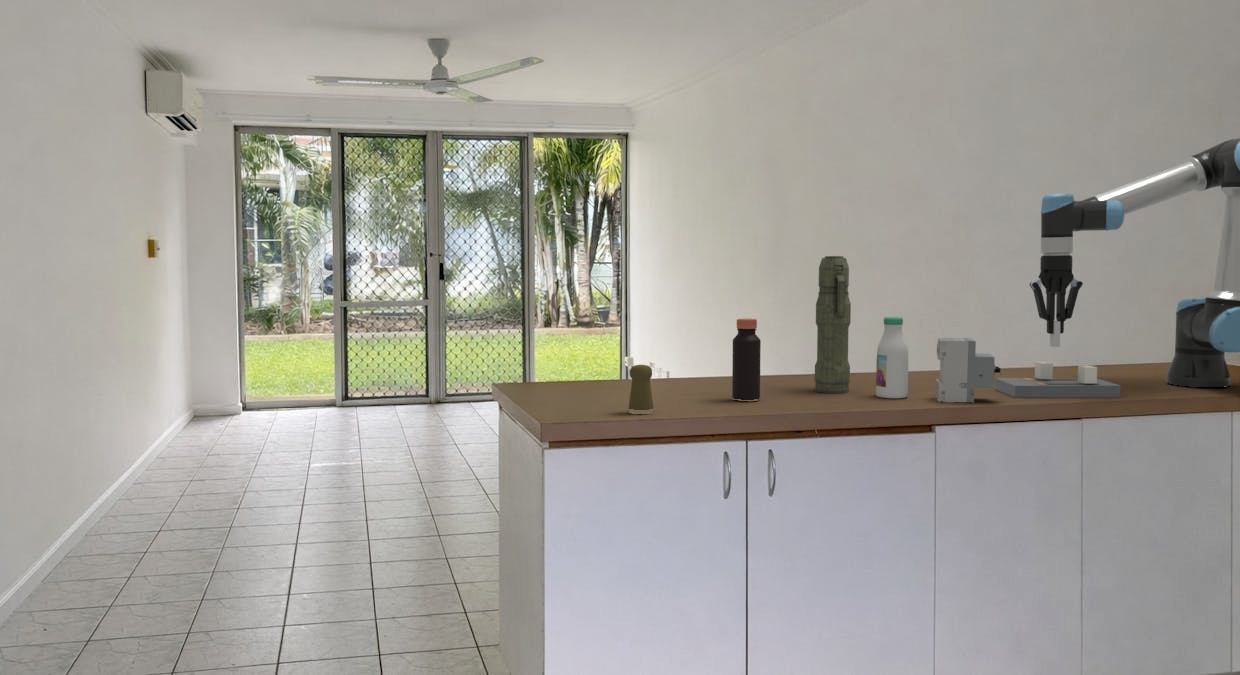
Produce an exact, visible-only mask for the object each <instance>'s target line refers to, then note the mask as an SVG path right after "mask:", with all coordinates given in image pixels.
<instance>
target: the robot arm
mask: <svg viewBox="0 0 1240 675" xmlns="http://www.w3.org/2000/svg"><path fill="white" fill-rule="evenodd" d="M1216 187H1217V188H1218V187H1220V191H1221V192H1223V194H1224V195H1225V196H1226V198H1225V199H1226V200H1225V206H1224V212H1223V219H1222V220H1223V221H1222V229H1221V234H1220V236H1221V237H1220V240H1219V241H1220V243H1219V248H1218V249H1219V250H1218V256H1217V263H1216V264H1217V265H1216V270H1215V278H1214V285H1213V290H1212V291H1210V293H1208V294H1207V295H1206V296H1205V298H1202V297H1201V298H1187V299H1182V300H1180V301H1179V302H1178V303H1177V306H1176V311H1175V315H1176V317H1175V320H1176V321H1175V345H1174V357H1173V358H1172V361H1171V364H1170V366H1169V368H1168V371H1167V373H1166V376H1165V377H1166V382H1167V383H1166V384H1168V383H1169V384H1168V385H1171V384H1173V386H1177V385H1179V386H1178V387H1185V386H1189V387H1188V388H1196V387H1224V386H1229V385H1231V384H1232V379H1231V377H1232V376H1231V374H1230V370H1229V368H1228V365H1227V361H1226V358H1225V353H1230V354H1231V353H1240V137H1239V138H1235V139H1234V138H1233V139H1228V140H1225V141H1222V142H1220V143H1217V144H1215V145H1214V146H1211V147H1209V148H1207V149H1205V150H1203V151H1201V152H1199V153H1196V154H1194V155H1190V156H1188V157H1186V159H1185V160H1184V162H1182V163H1180V164H1177V165H1175V166H1172V167H1169V168H1167V169H1165V170H1161V171H1158V172H1155V173H1152V174H1151V175H1147V176H1145V177H1142V178H1140V179H1137V180H1134V181H1131V182H1129V183H1126V184H1123V185H1120V186H1118V187H1114V188H1112V189H1109V190H1106V191H1103V192H1102V193H1099V194H1096V195H1093V196H1092V197H1087V198H1085V199H1083V200H1079V201H1078V200H1075V197H1074V194H1073V193H1048V194H1045V195H1044V196H1043V197H1042V200H1041V207H1040V208H1041V209H1040V217H1041V218H1040V221H1041V222H1040V226H1041V227H1040V234H1041V235H1040V236H1041V237H1040V253H1041V254H1042V255H1041V256H1040V273H1039V274H1038V278H1037V279H1035V280H1034V281H1031V282H1030V283H1029V287H1030V288H1031V289H1032V292H1033V294H1034V299H1035V303H1036V308H1037V313H1038V316H1039V318H1040V319H1042V320H1044V321H1046V333H1047V334H1049V346H1050V347H1052V348H1053V347H1054V348H1060V347H1061V334H1064V332H1065V327H1064V326H1065V321H1067V320H1069V319H1071V318H1073V313H1074V311H1075V310H1074V309H1075V306H1076V302H1077V299H1078V294H1079V290H1080V289H1081V288H1082V286H1083V285H1084V284H1083V283H1084V282H1082V281H1080V280H1078V279H1076V278H1075V276H1074V273H1073V256H1072V255H1071V254H1072V253H1073V246H1074V244H1073V243H1074V240H1073V238H1074V232H1080V231H1084V232H1085V231H1093V232H1094V231H1106V232H1108V231H1114V230H1119V229H1120V228H1121V227H1122V226H1123V223H1124V220H1125V215H1128V214H1131V213H1133V212H1136V211H1139V210H1142V209H1145V208H1147V207H1150V206H1152V205H1155V204H1159V203H1161V202H1164V201H1167V200H1169V199H1173V198H1175V197H1178V196H1181V195H1184V194H1186V193H1189V192H1192V191H1194V190H1195V191H1197V192H1204V191H1206V190H1209V189H1213V188H1216ZM1042 286H1043V287H1044V289H1045V294H1046V301H1045V299H1044V296H1043V291H1042V289H1041V288H1042ZM1069 286H1070V289H1069V291H1068V294H1067V289H1068V287H1069ZM1066 294H1067V295H1068V296H1067V299H1066ZM1045 302H1046V304H1045ZM1055 312H1056V313H1055ZM1055 315H1056V316H1055ZM1055 318H1056V320H1055ZM1231 386H1232V385H1231Z"/></svg>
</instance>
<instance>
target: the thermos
mask: <svg viewBox="0 0 1240 675" xmlns="http://www.w3.org/2000/svg"><path fill="white" fill-rule="evenodd" d="M818 266H819V267H818V287H819V288H818V290H819V291H818V296H817V300H816V303H815V325H816V327H817V330H816V331H817V332H816V333H817V335H816V336H817V339H816V340H817V342H816V344H817V345H816V348H817V349H816V350H817V351H816V362H815V365H814V382H815V388H814V390H816V391H815V392H817V391H818V392H817V393H821V392H823V393H822V394H847V393H849V392H850V387H849V386H850V381H851V379H850V378H851V366H850V363H849V328H850V325H851V320H852V319H851V311H852V308H851V306H852V305H851V304H852V303H851V301H850V295H849V287H850V286H849V284H850V281H849V280H850V279H849V278H850V267H849V263H848V259H847V258H846V257H844V256H843V255H841V256H840V255H836V256H835V255H834V256H833V255H832V256H831V255H830V256H828V255H826V256H824V257H822V258H821V260H820V263H819V265H818Z"/></svg>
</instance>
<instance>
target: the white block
mask: <svg viewBox="0 0 1240 675" xmlns="http://www.w3.org/2000/svg"><path fill="white" fill-rule="evenodd" d="M1077 378H1078V382H1081V383H1097V379H1098V367H1097V366H1094V365H1078V366H1077Z"/></svg>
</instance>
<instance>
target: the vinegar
mask: <svg viewBox="0 0 1240 675" xmlns="http://www.w3.org/2000/svg"><path fill="white" fill-rule="evenodd" d="M757 325H758V320H757V319H756V318H737V319H736V331H737V334H736V336H735V337H734V338H732V373H731V374H732V379H731V380H732V388H731V389H732V390H731V392H732V393H731V394H732V398H734V399H741V400H754V399H759V398H760V399H761V348H762V347H761V346H762V345H761V344H762V342H761V338H760V337H759V336H758V335H757V334H756V331H757V330H758V329H757V327H758V326H757Z"/></svg>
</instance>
